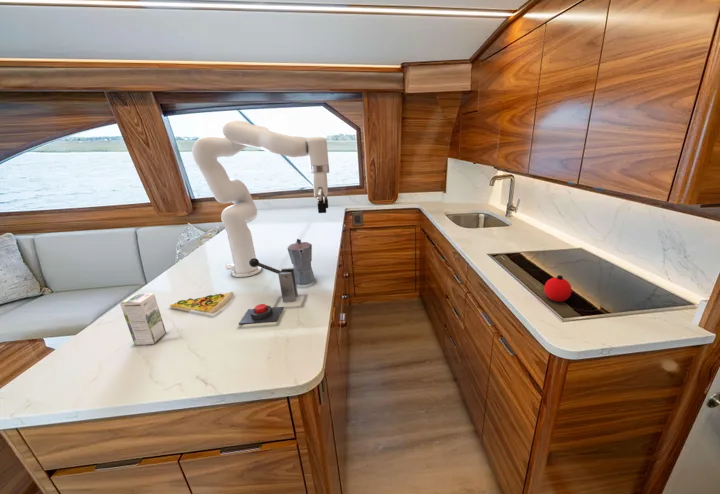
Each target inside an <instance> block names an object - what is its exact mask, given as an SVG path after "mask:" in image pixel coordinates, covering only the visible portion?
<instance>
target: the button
mask: <svg viewBox="0 0 720 494" xmlns="http://www.w3.org/2000/svg"><path fill="white" fill-rule="evenodd" d="M266 305H267V304H265V303H259V304H257V305H255V306H254V308H255V313H257V314H258V313H264V312H266V311H267V307H266Z"/></svg>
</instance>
